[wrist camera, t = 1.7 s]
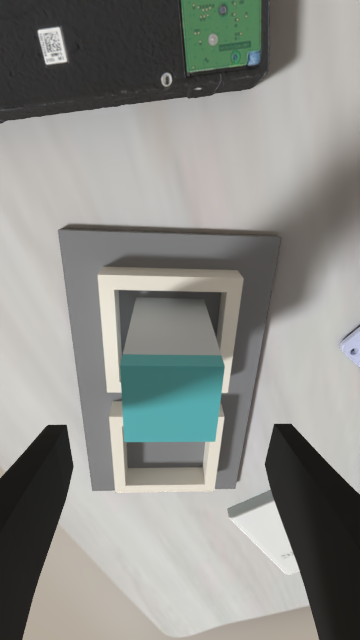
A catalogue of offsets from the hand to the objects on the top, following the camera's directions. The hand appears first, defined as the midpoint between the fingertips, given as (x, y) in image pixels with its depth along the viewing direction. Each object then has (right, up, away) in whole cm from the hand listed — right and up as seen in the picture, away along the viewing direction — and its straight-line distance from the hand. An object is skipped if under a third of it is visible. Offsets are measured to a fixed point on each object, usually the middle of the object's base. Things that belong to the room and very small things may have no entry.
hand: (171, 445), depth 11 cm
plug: (0, +4, +8) cm, 9 cm away
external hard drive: (+11, -15, +19) cm, 27 cm away
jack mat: (-1, 0, +11) cm, 11 cm away
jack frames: (-1, 0, +11) cm, 11 cm away
